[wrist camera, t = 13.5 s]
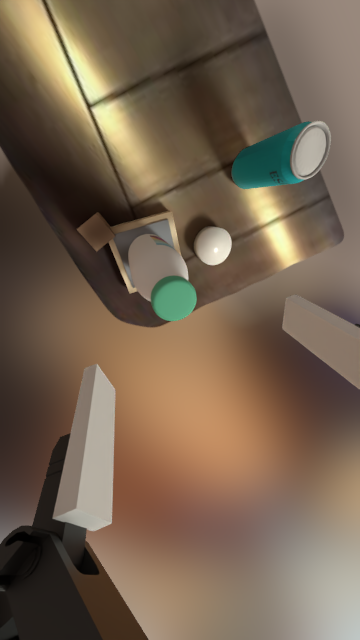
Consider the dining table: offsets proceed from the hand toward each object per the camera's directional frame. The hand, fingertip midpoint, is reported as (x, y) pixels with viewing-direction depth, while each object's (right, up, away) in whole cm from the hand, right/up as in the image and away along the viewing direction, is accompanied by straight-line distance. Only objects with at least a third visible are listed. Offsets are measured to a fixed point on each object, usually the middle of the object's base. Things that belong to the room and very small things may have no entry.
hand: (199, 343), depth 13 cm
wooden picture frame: (-8, +15, +24) cm, 30 cm away
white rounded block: (+5, +18, +27) cm, 32 cm away
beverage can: (+10, +29, +22) cm, 37 cm away
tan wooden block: (-16, +17, +20) cm, 31 cm away
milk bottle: (-7, +14, +22) cm, 27 cm away
